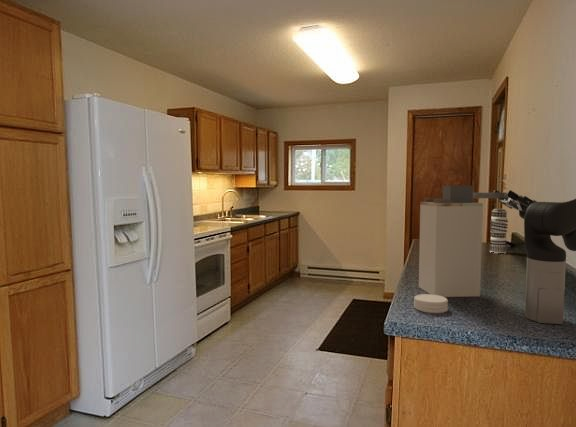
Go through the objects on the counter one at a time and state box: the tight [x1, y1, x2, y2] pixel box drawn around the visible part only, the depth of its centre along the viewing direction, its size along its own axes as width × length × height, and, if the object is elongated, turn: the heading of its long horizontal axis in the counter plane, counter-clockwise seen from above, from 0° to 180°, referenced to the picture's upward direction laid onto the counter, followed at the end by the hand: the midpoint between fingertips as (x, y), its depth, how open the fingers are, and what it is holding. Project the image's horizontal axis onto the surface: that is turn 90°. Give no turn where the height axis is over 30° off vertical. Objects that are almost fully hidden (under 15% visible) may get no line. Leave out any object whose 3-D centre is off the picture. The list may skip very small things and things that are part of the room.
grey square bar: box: [442, 185, 509, 203], centre depth 140 cm, size 24×6×6 cm, turn 93°
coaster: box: [413, 293, 449, 314], centre depth 122 cm, size 10×10×4 cm
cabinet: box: [418, 198, 484, 298], centre depth 141 cm, size 16×14×33 cm
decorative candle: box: [489, 208, 509, 254], centre depth 225 cm, size 9×9×25 cm
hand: (500, 192), depth 141 cm, fingers open, 8 cm apart
